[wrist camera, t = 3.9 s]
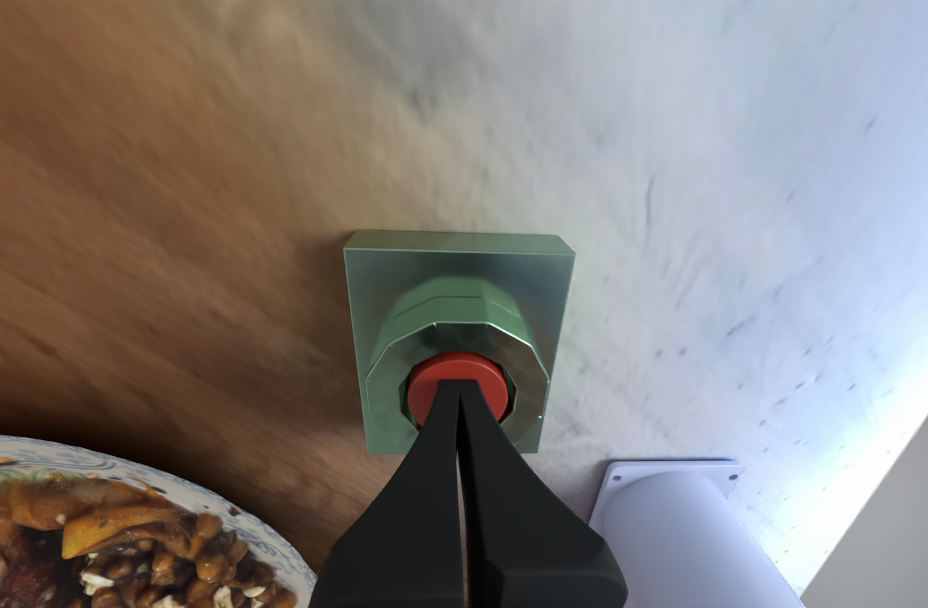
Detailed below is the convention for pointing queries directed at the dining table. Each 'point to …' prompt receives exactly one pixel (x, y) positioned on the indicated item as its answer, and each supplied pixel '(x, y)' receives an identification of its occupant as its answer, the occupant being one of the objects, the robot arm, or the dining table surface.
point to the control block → (454, 320)
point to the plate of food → (131, 538)
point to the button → (456, 368)
